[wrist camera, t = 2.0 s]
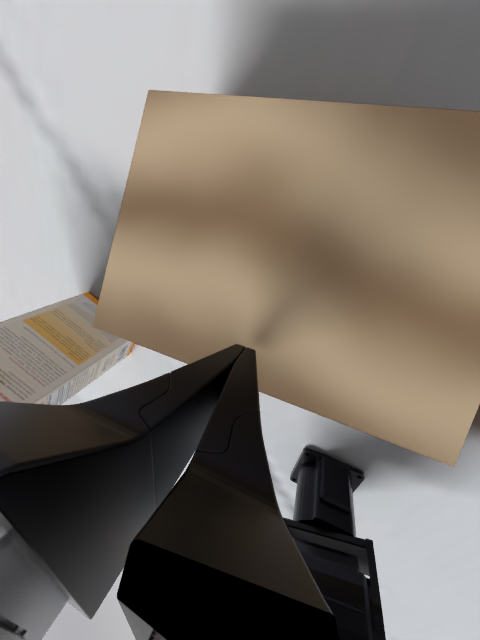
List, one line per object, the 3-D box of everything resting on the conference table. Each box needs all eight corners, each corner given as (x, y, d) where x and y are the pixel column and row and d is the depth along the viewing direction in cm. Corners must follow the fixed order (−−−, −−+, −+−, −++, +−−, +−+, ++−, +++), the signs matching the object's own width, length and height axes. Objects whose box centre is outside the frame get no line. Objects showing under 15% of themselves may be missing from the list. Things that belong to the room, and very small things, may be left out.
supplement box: (82, 316, 29) (-66, 379, 18) (88, 290, 27) (-80, 345, 16) (130, 355, 29) (11, 443, 18) (141, 333, 27) (9, 419, 16)
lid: (439, 453, 9) (454, 467, 8) (105, 326, 12) (92, 326, 12) (564, 139, 8) (594, 118, 7) (158, 105, 11) (148, 89, 11)
